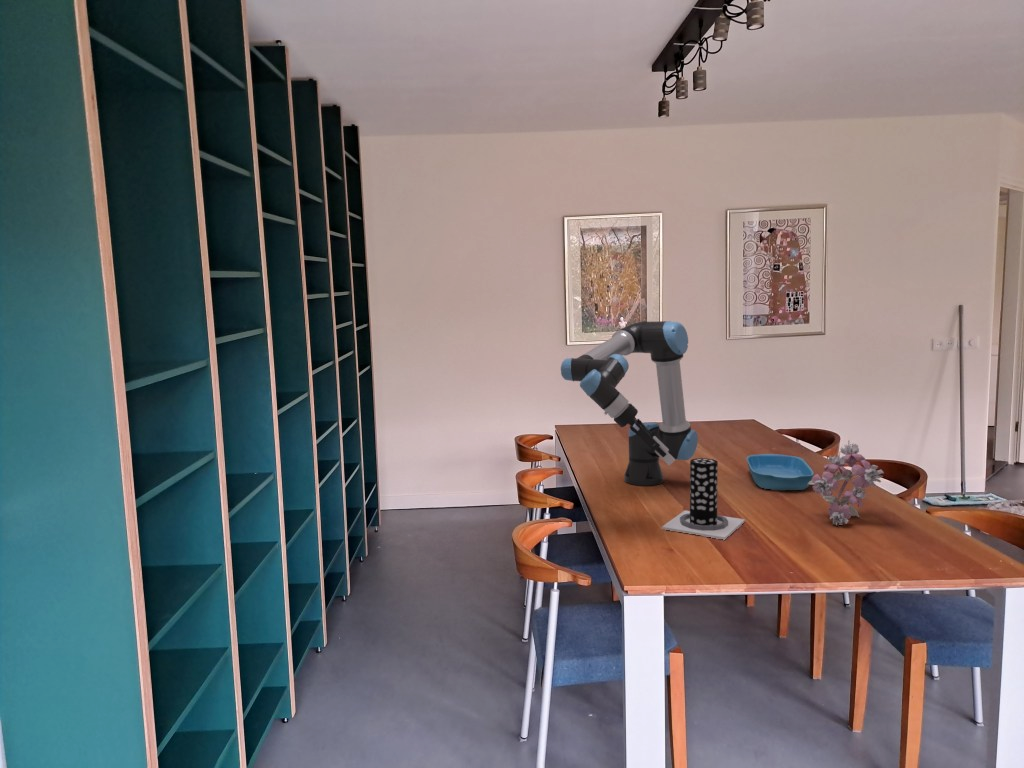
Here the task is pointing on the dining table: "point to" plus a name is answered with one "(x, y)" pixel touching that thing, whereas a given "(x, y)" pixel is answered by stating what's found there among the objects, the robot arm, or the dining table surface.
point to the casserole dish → (779, 471)
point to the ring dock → (704, 526)
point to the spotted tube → (703, 491)
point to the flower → (845, 483)
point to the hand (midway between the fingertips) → (669, 457)
